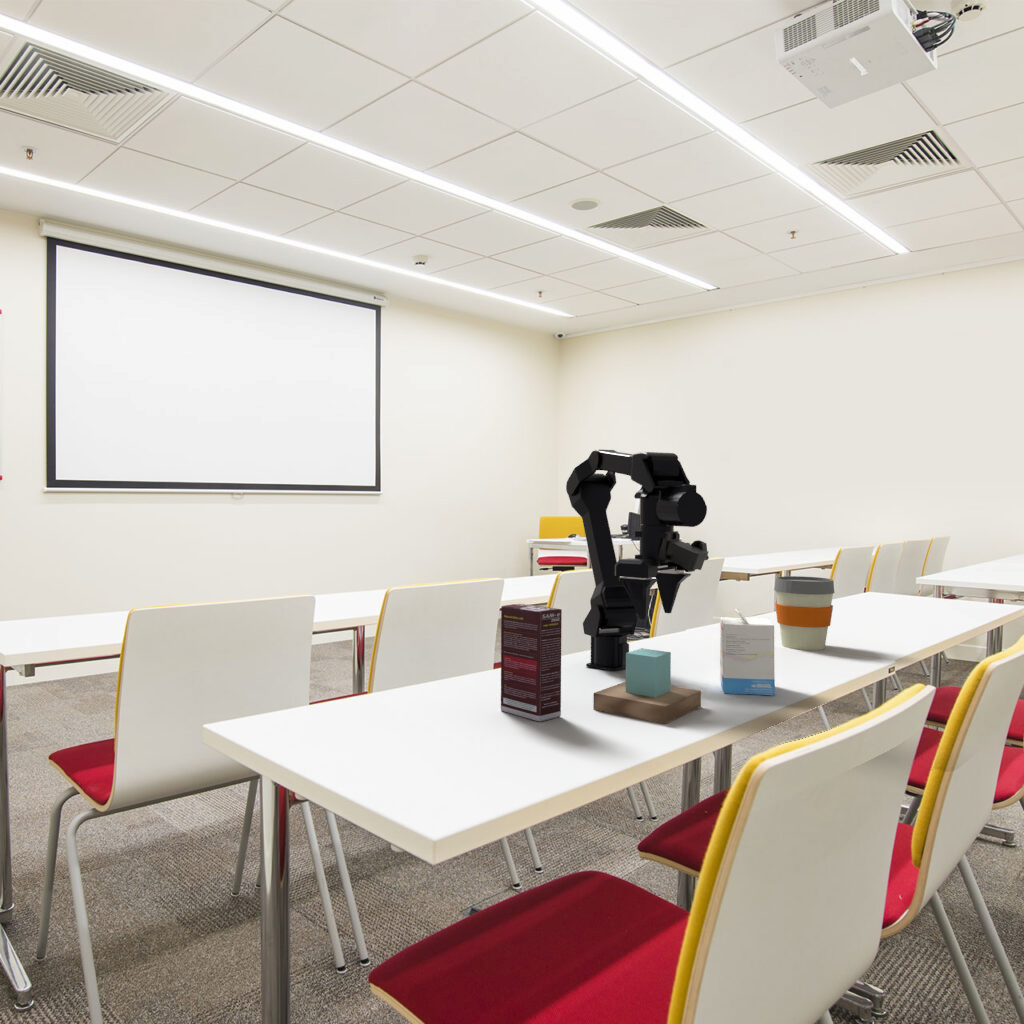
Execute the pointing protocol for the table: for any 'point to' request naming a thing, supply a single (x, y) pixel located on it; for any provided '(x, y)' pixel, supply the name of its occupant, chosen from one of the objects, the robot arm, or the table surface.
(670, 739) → the table surface
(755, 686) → the ink box
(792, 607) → the reusable coffee cup
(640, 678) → the block
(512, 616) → the supplement box
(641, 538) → the robot arm
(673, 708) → the base
